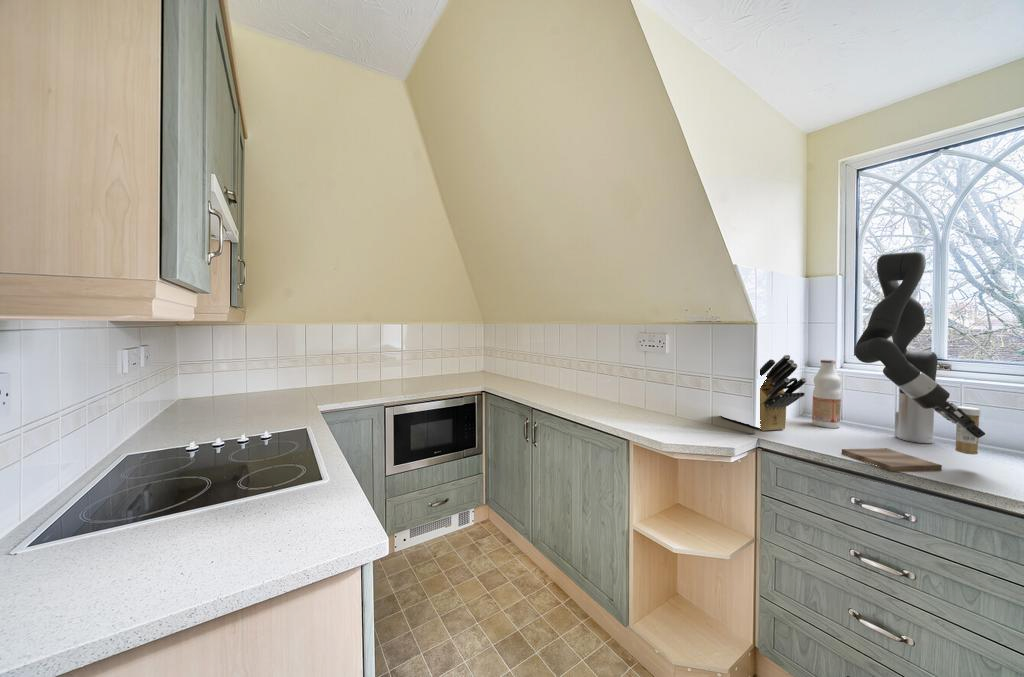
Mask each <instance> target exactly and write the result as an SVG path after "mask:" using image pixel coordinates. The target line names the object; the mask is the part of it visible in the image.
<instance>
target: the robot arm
mask: <svg viewBox="0 0 1024 677" xmlns="http://www.w3.org/2000/svg"><path fill="white" fill-rule="evenodd" d="M926 265H927V262H926V256H925V254H924V253H923V252H921V251H907V252H906V251H904V252H892V253H890V252H889V253H885V254H881V255H880V256H879V257H878V259H877V261H876V273H877V278H878V281H879V283H880V287H881V290H882V294H883V297H884V298H883V299H882V300H881V301H880V302H878V303H877V304H876V306H875V307H874V308H873V310H872V312H871V315H870V317H869V319H868V323H867V327H866V328H865V330H864V331H863V333H862V334H861V336H860V337H859V339H858V340H857V342H856V344H855V347H854V355H855V357H856V359H857V360H858V361H859V362H862V363H865V364H872V363H873V364H874V363H877V362H881V363H882V364H883V366H884V367H883V369H882V374H883V375H884V377H886V378H887V379H889V380H890V381H891V382H892V383H893V384H895V385H896V386H897V387H898V392H899V393H898V394H899V395H898V411H896V412H895V414H894V416H895V418H894V420H895V421H894V437H895V438H896V437H897V438H898V439H901V440H903V441H907V442H912V443H919V444H920V443H921V444H933V443H934V442H933V440H934V421H935V420H934V419H935V418H934V417H935V412H936V413H938V414H939V415H941V416H942V417H943V418H944V419H946V420H947V421H949V422H951V423H952V424H955V425H956V426H957V423H958V424H960V425H961V426H962V427H963V428H965V429H966V430H968V431H969V432H970V433H971V434H973V435H974V436H975V437H977V438H979V439H980V438H982V437H984V436H985V435H986V433H985V431H983V430H982V429H981V428H980V427H979V428H978V427H977V426H976V425H975V421H973V420H972V419H971V418H970V417H968V416H967V415H966V414H965V413H964V412H963V411H962V410H961V409H959V408H957V407H958V406H957V405H955V403H953V402H951V403H950V402H949V401H947V400H948V399H949V398H950V396H951V395H950V392H949V391H948V390H946V389H944V388H943V387H942V386H941V385H940V384H939V383H937V382H936V379H937V370H938V361H939V360H938V355H937V354H936V352H934V351H929V350H926V351H925V350H910V349H909V350H908V348H907V347H908V346H909V344H910V343H911V342H912V341H913V340H914V339H915V338H917V336H918V335H919V334H920V333H921V332H922V331H923V329H924V328H925V326H926V316H925V310H924V307H923V304H921V302H919V301H918V300H917V299H916V298H915V297H914V296H912V295H913V294H914V292H915V290H916V288H917V286H918V284H919V283H920V281H921V279H922V277H923V276H924V272H925V270H926ZM899 281H901V283H899ZM890 337H891V338H892V341H891V340H889V338H890ZM965 420H967V422H966V423H963V422H964V421H965Z"/></svg>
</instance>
